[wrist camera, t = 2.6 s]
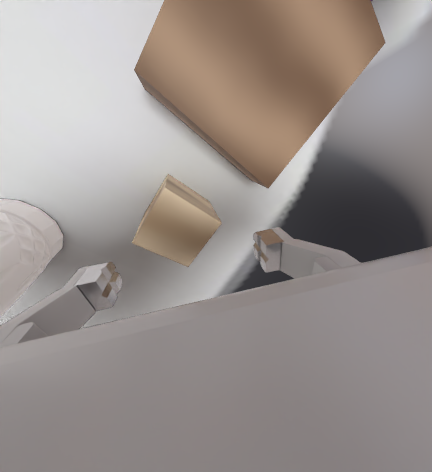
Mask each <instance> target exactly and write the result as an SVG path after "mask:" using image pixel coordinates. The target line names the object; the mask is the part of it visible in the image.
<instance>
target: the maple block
mask: <svg viewBox="0 0 432 472" xmlns="http://www.w3.org/2000/svg"><path fill="white" fill-rule="evenodd" d="M220 225H221V221H220V219H219V217H218V216H217V214H216V212H215V211H214V209H213V207H212V206H211V204H210V202H209V201H208V200H206V199H205V198H203V197H202V196H201V195H199V194H198V193H196V192H195V191H193V190H192V189H190V188H189V187H187V186H186V185H184V184H183V183H181V182H180V181H178V180H177V179H175V178H174V177H172V176H171V175H169V174H168V175H167V176H166V178H165V180H164V181H163V183H162V185H161V187H160V188H159V190H158V192H157V193H156V195H155V197H154V198H153V200H152V202H151V204H150V205H149V207H148V209H147V210H146V212H145V214H144V216H143V218H142V220H141V223H140V225H139V227H138V230H137V232H136V234H135V237H134V239H133V241H132V243H133V244H135V245H137V246H140V247H142V248H144V249H147V250H149V251H151V252H154V253H156V254H158V255H161V256H163V257H166V258H168V259H170V260H173V261H175V262H177V263H180V264H182V265H184V266H187V267H189V265H190V264H191V263H192V261H193V260H194V259H195V257H196V256H197V255H198V254H199V252H200V251H201V250H202V248H203V247H204V246H205V244H206V243H207V242H208V240H209V239H210V238H211V237H212V235H213V234H214V233H215V231H216V230H217V229H218V227H219V226H220Z"/></svg>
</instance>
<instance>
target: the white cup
mask: <svg viewBox="0 0 432 472" xmlns="http://www.w3.org/2000/svg"><path fill="white" fill-rule="evenodd" d="M62 248H63V234H62V232H61V230H60V228H59V226H58V225H57V223H56V221H54V220H53V219H52V218H51V217H50V216H48V215H47V214H46V213H45V212H43V211H42V210H41V209H39V208H36V207H34V206H32V205H29V204H27V203H24V202H22V201H19V200H9V199H0V318H1V317H2V316H3V315H4V314H5V313H6V311H7V310H8V309H9V308H10V307H11V306H12V305H13V304H14V303H15V302H16V301H17V300H18V299H19V298H20V297H21V296H22V295H23V294H24V292H25V291H26V290H27V288H28V287H29V286H30V285H31V284H32V283H33V282H34V281H35V280H36V279H37V277H38V276H39V275H40V274H41V273H42V272H43V271H44V270H45V267H46V266H47V264H48V263H49V262H50V261H51V260H52V259H53V258H54V257H55V255H56V254H57V253H58V252H59V251H60V250H61V249H62Z"/></svg>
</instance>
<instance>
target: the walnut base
mask: <svg viewBox="0 0 432 472" xmlns="http://www.w3.org/2000/svg"><path fill="white" fill-rule="evenodd" d="M384 44H385V40H384V37H383V34H382V32H381V29H380V26H379V23H378V20H377V17H376V15H375V12H374V9H373V6H372V3H371V0H164V2H163V5H162V7H161V9H160V12H159V14H158V16H157V18H156V21H155V23H154V25H153V28H152V30H151V32H150V35H149V37H148V39H147V42H146V44H145V46H144V48H143V51H142V53H141V55H140V58H139V60H138V62H137V65H136V67H135V69H134V70H135V72H136V74H137V76H138V78H139V79H140V81H141V83H142V85H143V87H144V88H145V90H146V91H148V92H149V93H150V94H151V95H152V96H154V97H155V98H156V99H157V100H158V101H159V102H161V103H162V104H163V105H164V106H165V107H166V108H168V109H169V110H170V111H171V112H172V113H173V114H175V115H176V116H177V117H178V118H179V119H180V120H182V121H183V122H184V123H185V124H186V125H187V126H189V127H190V128H191V129H192V130H193V131H194V132H196V133H197V134H198V135H199V136H200V137H201V138H203V139H204V140H205V141H206V142H207V143H208V144H210V145H211V146H212V147H213V148H214V149H215V150H217V151H218V152H219V153H220V154H221V155H222V156H224V157H225V158H226V159H227V160H228V161H229V162H231V163H232V164H233V165H234V166H235V167H236V168H238V169H239V170H240V171H241V172H242V173H243V174H245V175H246V176H247V177H248V178H249V179H250V180H252V181H254V182H256V183H258V184H260V185H262V186H264V187H266V188H269V187H270V186H271V184H272V183H273V182H274V181H275V179H276V178H277V177H278V176H279V174H280V173H281V172H282V171H283V169H284V168H285V167H286V166H287V164H288V163H289V162H290V161H291V159H292V158H293V157H294V156H295V154H296V153H297V152H298V151H299V149H300V148H301V147H302V146H303V145H304V143H305V142H306V141H307V140H308V138H309V137H310V136H311V135H312V133H313V132H314V131H315V130H316V128H317V127H318V126H319V125H320V123H321V122H322V121H323V120H324V118H325V117H326V116H327V115H328V113H329V112H330V111H331V110H332V108H333V107H334V106H335V105H336V103H337V102H338V101H339V100H340V99H341V97H342V96H343V95H344V94H345V92H346V91H347V90H348V89H349V87H350V86H351V85H352V84H353V82H354V81H355V80H356V79H357V77H358V76H359V75H360V74H361V72H362V71H363V70H364V69H365V67H366V66H367V65H368V64H369V62H370V61H371V60H372V59H373V57H374V56H375V55H376V54H377V53H378V51H379V50H380V49H381V48H382V46H383V45H384Z"/></svg>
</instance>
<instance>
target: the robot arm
mask: <svg viewBox="0 0 432 472" xmlns="http://www.w3.org/2000/svg"><path fill="white" fill-rule="evenodd" d="M253 239H254V241H255V244H254V253H255V256H256V258H257V260H258V261H261V266H262V268H263V269H264V271H265V272H270V271H275V270H281V271H283V272H284V273H286V274H288V275H290V276H291V277H293V278H295V279H292V280H288V281H284V282H280V283H275V284H271V285H267V286H263V287H258V288H254V289H250V290H245V291H241V292H237V293H232V294H228V295H224V296H219V297H215V298H211V299H207V300H202V301H198V302H194V303H189V304H185V305H181V306H176V307H172V308H168V309H164V310H159V311H155V312H151V313H146V314H142V315H138V316H133V317H129V318H125V319H121V320H116V321H112V322H108V323H103V324H99V325H95V326H90V327H86V328H82V329H80V328H81V327H82V326H83V325H84V324H85V323H86V322H87V321H88V320H89V319H90V318H91V317H92V316H93V315H94V314H95V313H96V311H99V310H103V309H107V308H111V307H113V306H114V303H115V301H116V299H117V295H116V294H117V293H118V292H119V291H120V290H121V287H122V278H121V276H120V274H119V273H117V272H115V269H116V267H115V265H114V264H113V263H112V262H107V263H101V264H96V265H90V266H86V267H82V268H79V269H78V270H77V272H76V273H75V274H74V275H73V276H72V277H71V279H70V280H69V281H68V282H67V283H66V284H65V285H64V287H63V288H62V289H59V290H57V291H55V292H54V293H52V294H50V295H49V296H47V297H46V298H44V299H42V300H41V301H39V302H38V303H36V304H34V305H33V306H31V307H30V308H28V309H26V310H25V311H23V312H22V313H20V314H18V315H17V316H15V317H14V318H12V319H10V320H9V321H7V322H6V323H4V324H2V325H1V326H0V472H432V247H430V248H425V249H421V250H417V251H412V252H408V253H404V254H400V255H395V256H391V257H387V258H382V259H378V260H374V261H370V262H365V263H360V262H359V261H357V260H356V259H354V258H353V257H351V256H350V255H348V254H347V253H345V252H343V251H340V250H336V249H332V248H328V247H325V246H321V245H317V244H313V243H309V242H305V241H302V240H298V239H295V240H294V239H293V238H292V237H290V236H289V235H288V234H287V233H286V232H284V231H283V230H282V229H281V228H279V227H277V228H273V229H268V230H264V231H260V232H255V233H254V235H253Z"/></svg>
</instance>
